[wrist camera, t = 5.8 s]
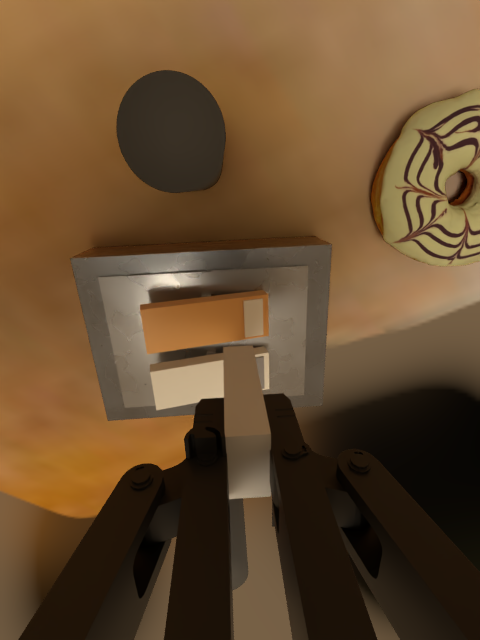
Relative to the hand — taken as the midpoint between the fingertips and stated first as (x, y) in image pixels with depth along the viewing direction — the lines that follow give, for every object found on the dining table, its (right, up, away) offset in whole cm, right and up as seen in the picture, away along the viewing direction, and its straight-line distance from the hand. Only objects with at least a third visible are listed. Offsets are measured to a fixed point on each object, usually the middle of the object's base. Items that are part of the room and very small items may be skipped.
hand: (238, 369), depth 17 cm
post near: (-3, +13, +5) cm, 14 cm away
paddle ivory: (-2, -1, +5) cm, 5 cm away
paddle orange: (-2, +3, +3) cm, 5 cm away
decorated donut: (+14, +12, +7) cm, 20 cm away
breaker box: (-2, +3, +9) cm, 10 cm away
